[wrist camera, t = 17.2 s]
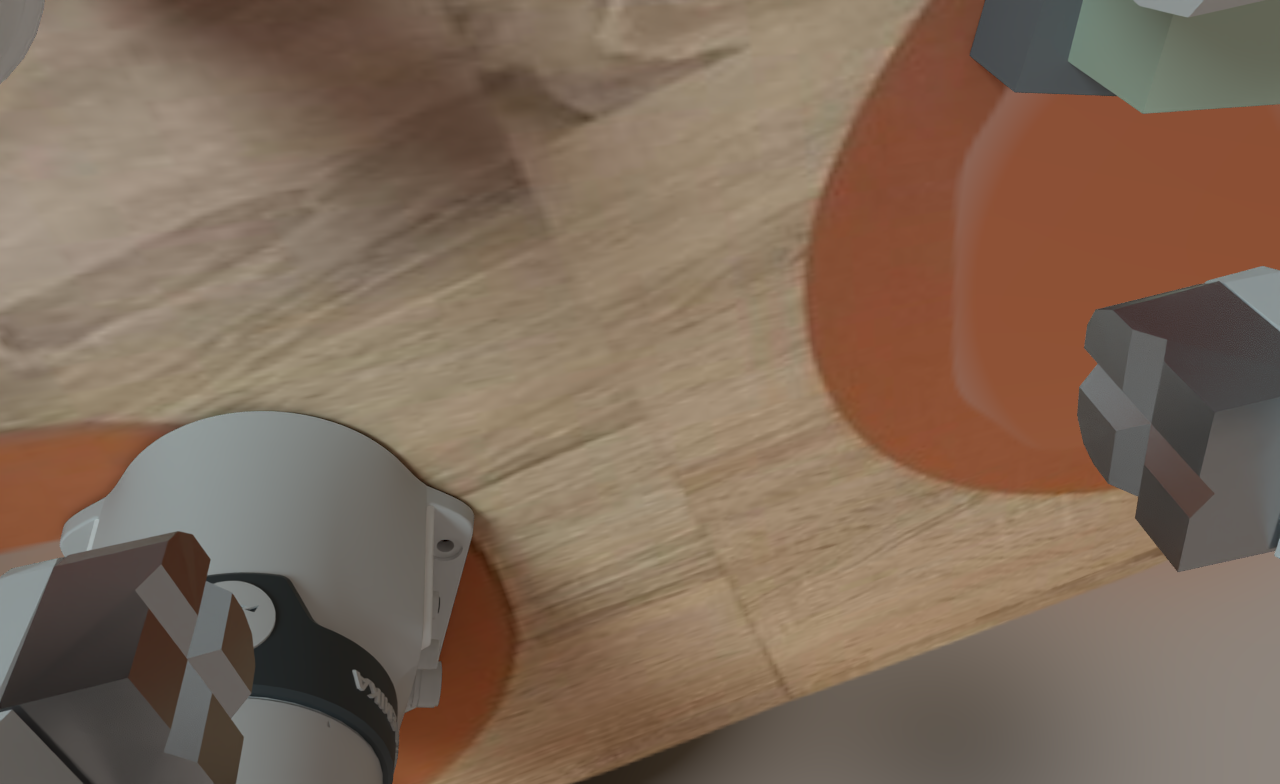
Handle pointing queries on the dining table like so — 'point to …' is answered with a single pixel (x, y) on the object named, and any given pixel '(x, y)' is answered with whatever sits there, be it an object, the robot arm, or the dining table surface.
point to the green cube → (1181, 55)
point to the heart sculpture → (1192, 6)
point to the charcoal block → (1032, 46)
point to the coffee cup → (17, 31)
